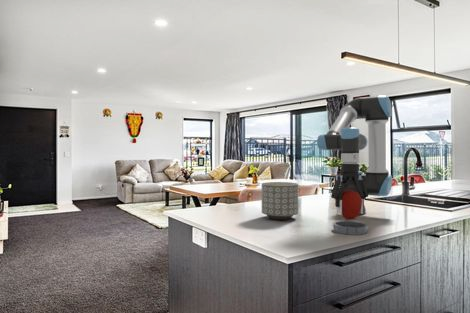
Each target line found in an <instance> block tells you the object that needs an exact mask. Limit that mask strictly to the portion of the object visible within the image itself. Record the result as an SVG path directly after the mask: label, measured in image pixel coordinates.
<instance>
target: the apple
mask: <svg viewBox="0 0 470 313" xmlns="http://www.w3.org/2000/svg"><path fill="white" fill-rule="evenodd" d="M349 189H350V188H349ZM340 200H342V215H341V216H342V217H343V219H345V220H346V221H354V220H355V219H356V218H357V217H359V216H360V215H359V213H360V210H361V207H362V199H361V196H360V195H359V194H358V192H356V191H351V190H346V191H344V193H343V195H342V197H341V199H340Z"/></svg>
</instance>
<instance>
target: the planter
mask: <svg viewBox="0 0 470 313" xmlns="http://www.w3.org/2000/svg"><path fill="white" fill-rule="evenodd" d="M261 214H263V215H266V216H267V217H269V218H270V219H273V220H279V221H283V220H288V219H291V218H292V217H294V216H296V215H299V183H298V182H287V181H270V182H269V181H268V182H262V183H261Z"/></svg>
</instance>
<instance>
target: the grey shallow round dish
mask: <svg viewBox="0 0 470 313" xmlns="http://www.w3.org/2000/svg"><path fill="white" fill-rule="evenodd" d="M332 229H333V230H332V231H333V232H335V233H338V234H342V235H348V236H349V235H350V236H357V235H359V236H361V235H366V234H367V233H368V224H366V223H364V222H362V221H361V222H360V221H356V220H355V221H354V220H338V221H337V220H336V221H334V222H332Z"/></svg>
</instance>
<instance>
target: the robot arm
mask: <svg viewBox="0 0 470 313" xmlns="http://www.w3.org/2000/svg"><path fill="white" fill-rule="evenodd" d="M392 116H393V107H392V102H391V100H390V98H389V96H388V95H374V96H365V97H357V98H354V99H352V100H350V101H348V102H347V103H346V104H344V106H342V108H341V109H340V111H339V115H338V117H337V118H336V120H335V121H334V122H333V123H332V125H331V127H330V128H329V130H328V131H327V132H326V134H320V135H318V137H317V138H316V144H317V148H318V149H319V150H320V151H321V150H322V151H340V152H341V154H340V162H341V164H340V172H341V175H334V184H333V188H332V191H331V198H332V199H334V200H335V203H334V205H335V208H336V215H338V216H342V200H340V199H341V197H342V195H343V193H344V191H346V190H351V191H356V192H358V194H359V195H360V196H361V199H362V207H361V210H360V213H359V216H360V215H365V214H367V212H366V211H367V210H366V206H365V200H366V199H367V198H368V197H369V196H377V197H387V196H389V195H390V194H391V190H392V187H393V175H391V174H389V172H390V171H389V170H388V169H387V167H386V163H387V161H386V160H387V158H386V156H387V155H386V149H387V148H386V124H387V123H388V122H389V118H391V117H392ZM358 119H359V120H361V119H365V120H364V121H365V123H366V124H367V126H368V127H367V129H368V131H367V133H368V134H367V136H368V138H367V137H366V136H365V135H364V134H362V133H360V128H358V127H350V126H351V124H352V123H353V122H355V121H357V120H358ZM367 146H368V152H367V154H368V168H367V169H366V170H365V173H363V171H360V164H359V163H360V151H362V150H364V149H365V148H366V147H367ZM349 188H350V189H349Z"/></svg>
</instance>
